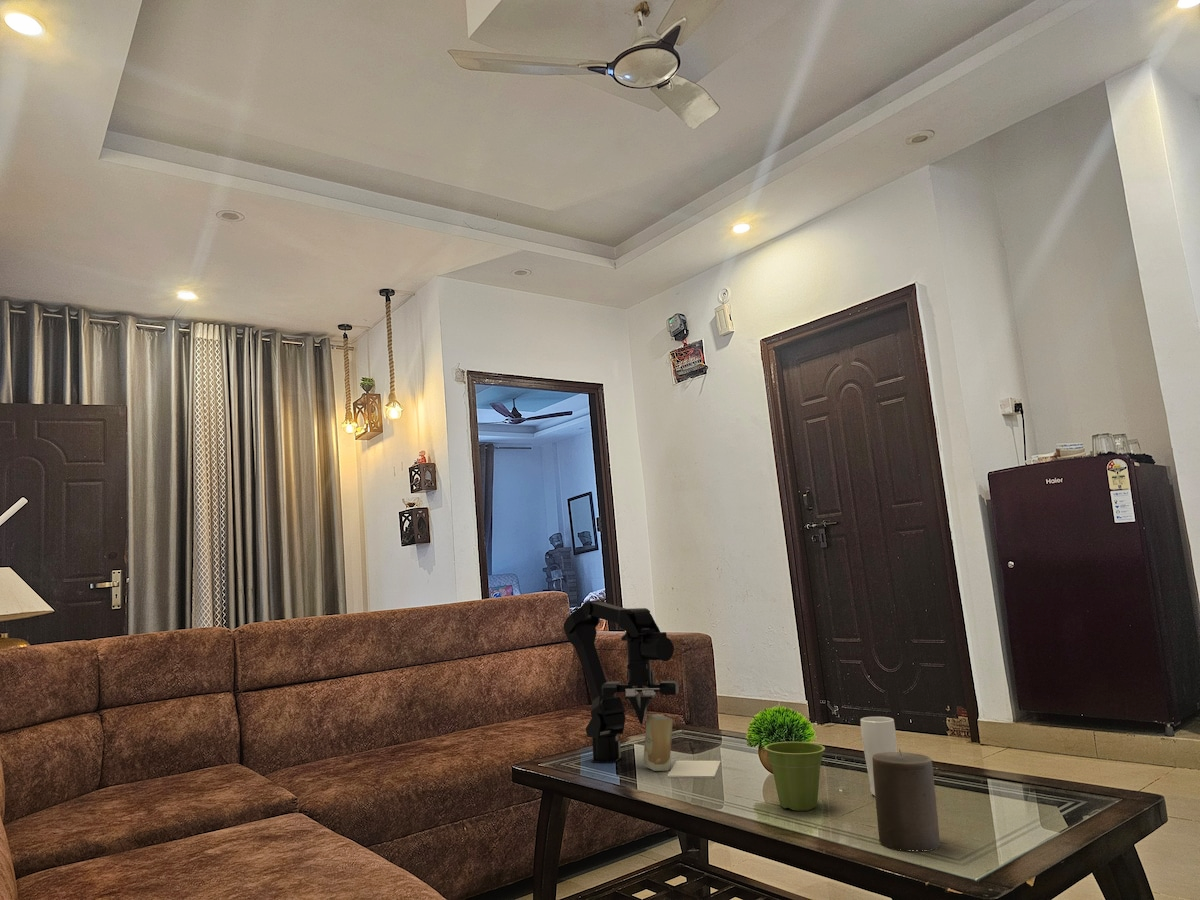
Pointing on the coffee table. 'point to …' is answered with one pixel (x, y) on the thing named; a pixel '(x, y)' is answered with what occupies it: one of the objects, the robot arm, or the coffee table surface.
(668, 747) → the skincare box
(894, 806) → the pillar candle
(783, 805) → the plant pot
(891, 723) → the drinking glass
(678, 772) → the mat
